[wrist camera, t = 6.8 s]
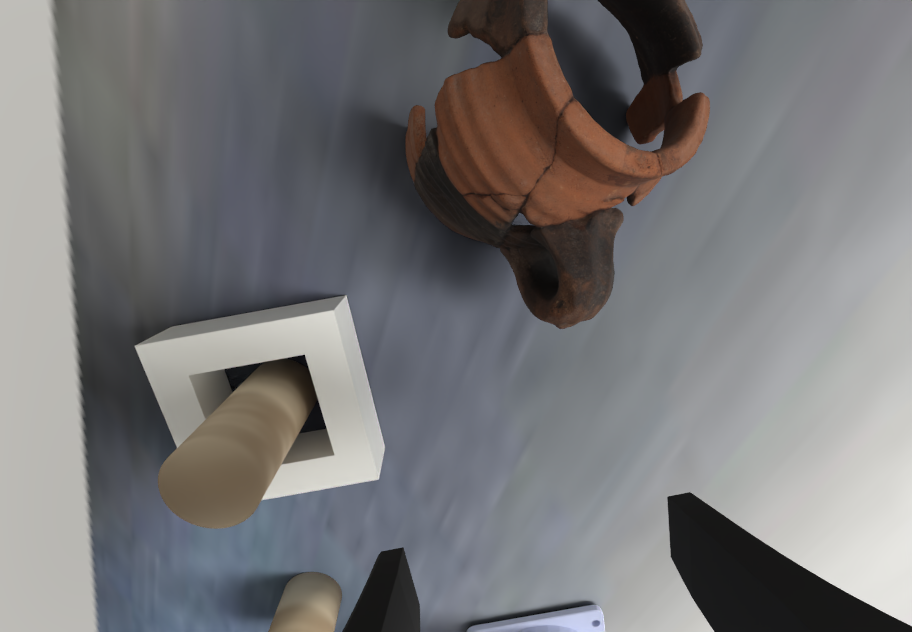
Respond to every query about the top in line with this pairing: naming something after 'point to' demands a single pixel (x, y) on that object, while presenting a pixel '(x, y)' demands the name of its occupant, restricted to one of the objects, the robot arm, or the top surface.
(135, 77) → the top surface
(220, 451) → the long pin
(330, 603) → the short pin
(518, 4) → the pottery mug
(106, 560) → the top surface
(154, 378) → the collar
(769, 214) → the top surface
